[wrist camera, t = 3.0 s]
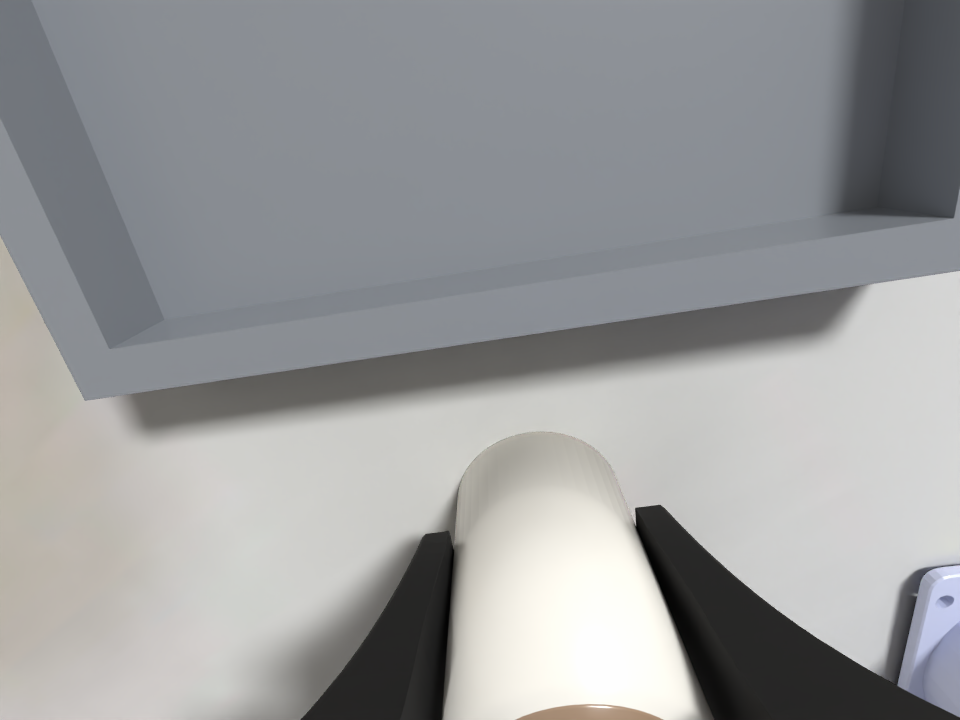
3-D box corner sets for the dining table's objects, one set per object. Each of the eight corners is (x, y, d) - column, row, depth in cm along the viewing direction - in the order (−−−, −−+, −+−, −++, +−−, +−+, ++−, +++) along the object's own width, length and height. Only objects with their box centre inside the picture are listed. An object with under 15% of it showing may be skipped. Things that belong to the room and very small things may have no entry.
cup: (623, 553, 15) (727, 854, 9) (472, 571, 16) (464, 875, 9) (614, 420, 14) (735, 672, 7) (443, 443, 14) (409, 705, 7)
